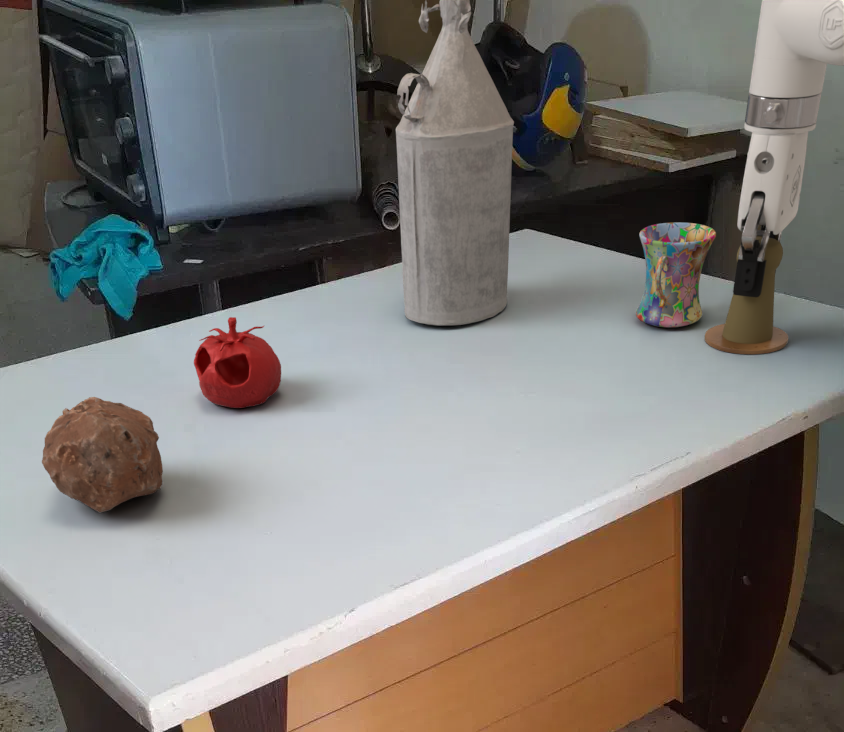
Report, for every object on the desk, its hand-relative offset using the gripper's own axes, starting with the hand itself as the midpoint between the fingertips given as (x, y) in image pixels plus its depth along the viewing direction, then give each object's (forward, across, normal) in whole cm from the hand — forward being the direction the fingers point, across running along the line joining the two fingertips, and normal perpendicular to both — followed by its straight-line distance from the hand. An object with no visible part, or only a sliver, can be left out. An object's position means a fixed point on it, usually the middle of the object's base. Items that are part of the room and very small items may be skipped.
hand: (753, 285), depth 122 cm
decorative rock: (+7, -65, +46) cm, 80 cm away
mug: (+7, +2, +11) cm, 13 cm away
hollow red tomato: (+7, -39, +49) cm, 63 cm away
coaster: (+6, 0, 0) cm, 6 cm away
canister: (+7, -3, +39) cm, 40 cm away
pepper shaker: (+6, 0, 0) cm, 6 cm away
